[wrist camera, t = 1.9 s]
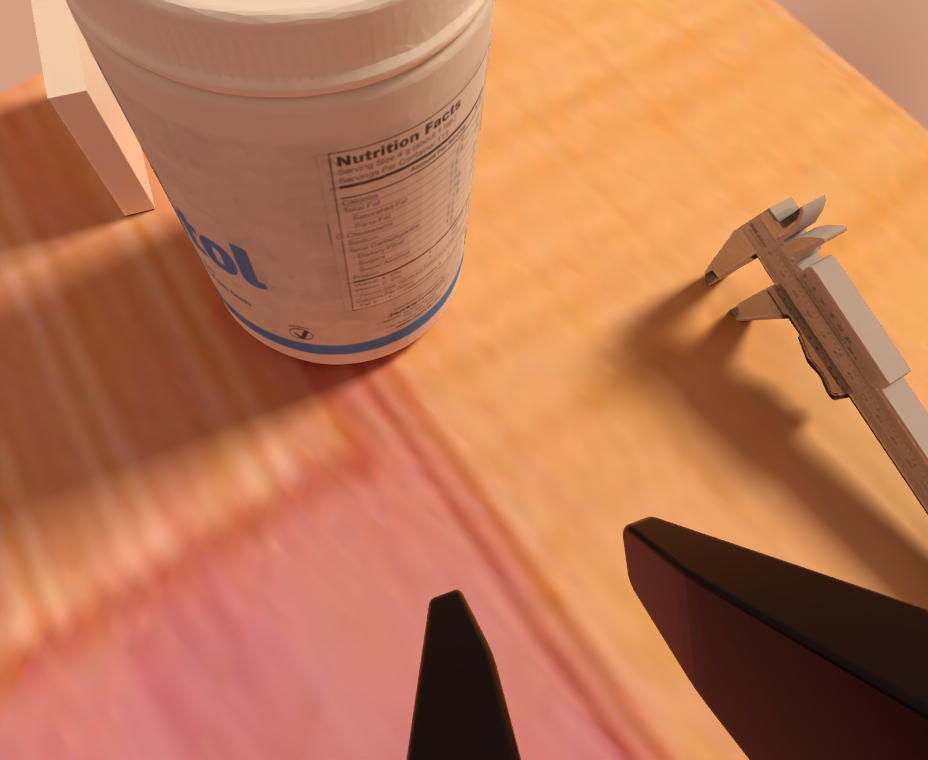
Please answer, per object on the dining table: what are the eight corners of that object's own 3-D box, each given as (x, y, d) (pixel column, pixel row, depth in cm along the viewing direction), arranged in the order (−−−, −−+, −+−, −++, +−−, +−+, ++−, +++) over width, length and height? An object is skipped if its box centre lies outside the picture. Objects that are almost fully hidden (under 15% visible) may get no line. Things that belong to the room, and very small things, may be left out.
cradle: (480, 129, 30) (493, 7, 24) (124, 215, 27) (47, 98, 21) (424, 14, 32) (424, -120, 27) (96, 81, 29) (22, -54, 24)
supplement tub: (170, 266, 26) (-104, -170, 12) (347, 135, 29) (281, -326, 16) (342, 426, 24) (236, 108, 10) (514, 266, 27) (605, -141, 13)
